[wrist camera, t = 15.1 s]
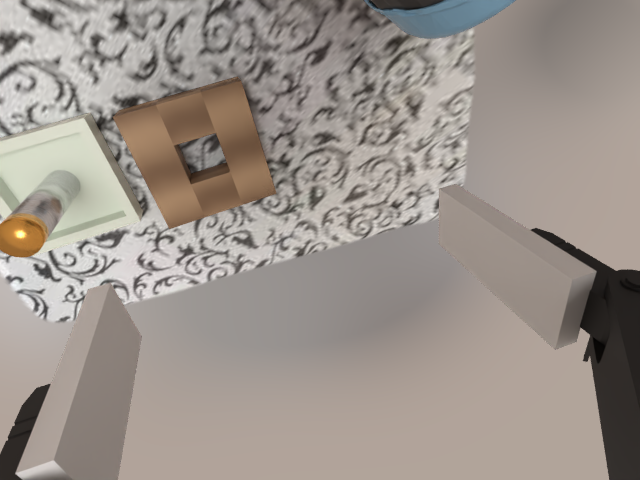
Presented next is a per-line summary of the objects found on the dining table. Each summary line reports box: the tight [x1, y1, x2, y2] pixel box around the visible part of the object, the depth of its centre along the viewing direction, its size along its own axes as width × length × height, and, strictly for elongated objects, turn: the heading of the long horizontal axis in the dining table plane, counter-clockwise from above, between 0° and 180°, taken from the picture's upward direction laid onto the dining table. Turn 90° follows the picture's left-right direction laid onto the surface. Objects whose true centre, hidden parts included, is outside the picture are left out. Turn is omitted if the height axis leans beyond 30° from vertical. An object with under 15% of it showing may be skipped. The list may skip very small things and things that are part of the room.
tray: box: [0, 113, 143, 256], centre depth 38 cm, size 11×11×3 cm
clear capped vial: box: [0, 170, 81, 257], centre depth 33 cm, size 3×3×12 cm
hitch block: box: [113, 77, 276, 229], centre depth 40 cm, size 12×12×4 cm
